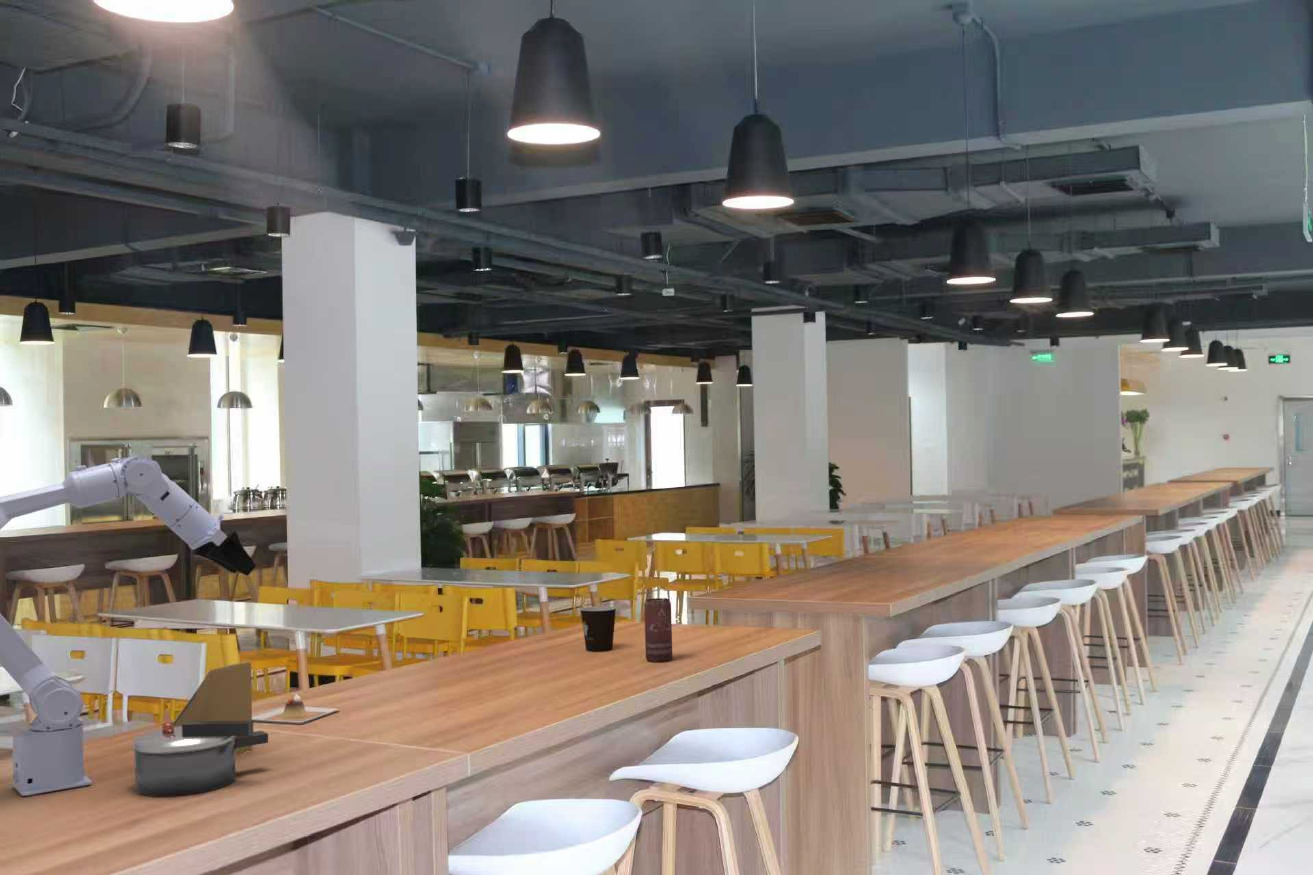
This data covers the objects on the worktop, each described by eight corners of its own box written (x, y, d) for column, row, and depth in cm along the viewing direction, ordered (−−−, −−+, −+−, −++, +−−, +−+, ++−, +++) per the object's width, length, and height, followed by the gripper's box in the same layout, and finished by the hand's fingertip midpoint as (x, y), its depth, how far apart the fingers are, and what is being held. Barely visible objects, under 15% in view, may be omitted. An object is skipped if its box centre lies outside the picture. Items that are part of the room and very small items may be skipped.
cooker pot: (150, 802, 171) (149, 759, 171) (124, 782, 182) (123, 742, 182) (282, 777, 183) (281, 737, 183) (250, 760, 194) (249, 722, 194)
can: (678, 658, 278) (676, 598, 278) (663, 663, 273) (661, 601, 273) (655, 657, 281) (654, 596, 282) (640, 661, 276) (639, 600, 276)
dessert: (247, 724, 223) (246, 698, 223) (288, 711, 235) (287, 686, 235) (301, 728, 219) (301, 701, 219) (340, 714, 230) (340, 689, 231)
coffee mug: (616, 652, 290) (614, 610, 290) (580, 653, 290) (579, 611, 291) (618, 644, 302) (617, 604, 302) (583, 645, 302) (582, 605, 302)
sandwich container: (191, 742, 209) (189, 655, 209) (254, 751, 201) (252, 660, 201) (148, 753, 201) (146, 663, 201) (212, 763, 194) (210, 669, 194)
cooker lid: (114, 754, 174) (114, 735, 174) (159, 731, 188) (159, 713, 189) (232, 752, 173) (231, 732, 173) (268, 729, 188) (268, 711, 188)
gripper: (211, 495, 188) (274, 552, 194) (189, 495, 200) (249, 549, 206) (178, 529, 186) (243, 586, 191) (157, 527, 198) (220, 581, 203)
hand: (244, 569), depth 198 cm, fingers open, 7 cm apart
